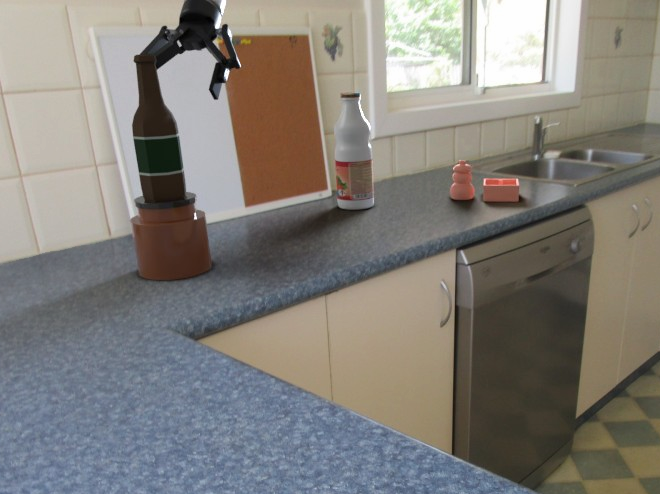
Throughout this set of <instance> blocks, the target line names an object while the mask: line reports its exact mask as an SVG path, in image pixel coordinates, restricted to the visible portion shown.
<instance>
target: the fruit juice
mask: <svg viewBox="0 0 660 494" xmlns="http://www.w3.org/2000/svg"><path fill="white" fill-rule="evenodd" d="M361 97H362V95H361V92H358V91H353V92H352V91H351V92H349V91H348V92H341V93H340V101H341V111H340V115H339V117H338V119H337V120H336V122H335V124H334V126H333V134H334V139H335V142H336V145H335V148H334V164H335V165H334V166H335V167H334V168H335V182H336V183H335V184H336V201H337V206H338V208H340V209H343V210H353V211H354V210H355V211H356V210H366V209H370V208H372V207H374V204H375V196H374V195H375V190H374V168H373V167H374V165H373V148H372V145H371V143H370V138H371V132H372V129H371V125H370V122H369V121H368V120H367V119H366V117H365V116H364V112H363V111H362V108H361Z"/></svg>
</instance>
